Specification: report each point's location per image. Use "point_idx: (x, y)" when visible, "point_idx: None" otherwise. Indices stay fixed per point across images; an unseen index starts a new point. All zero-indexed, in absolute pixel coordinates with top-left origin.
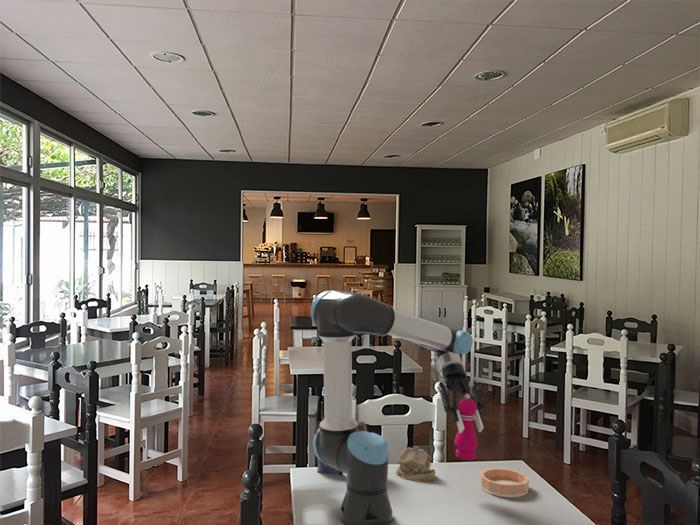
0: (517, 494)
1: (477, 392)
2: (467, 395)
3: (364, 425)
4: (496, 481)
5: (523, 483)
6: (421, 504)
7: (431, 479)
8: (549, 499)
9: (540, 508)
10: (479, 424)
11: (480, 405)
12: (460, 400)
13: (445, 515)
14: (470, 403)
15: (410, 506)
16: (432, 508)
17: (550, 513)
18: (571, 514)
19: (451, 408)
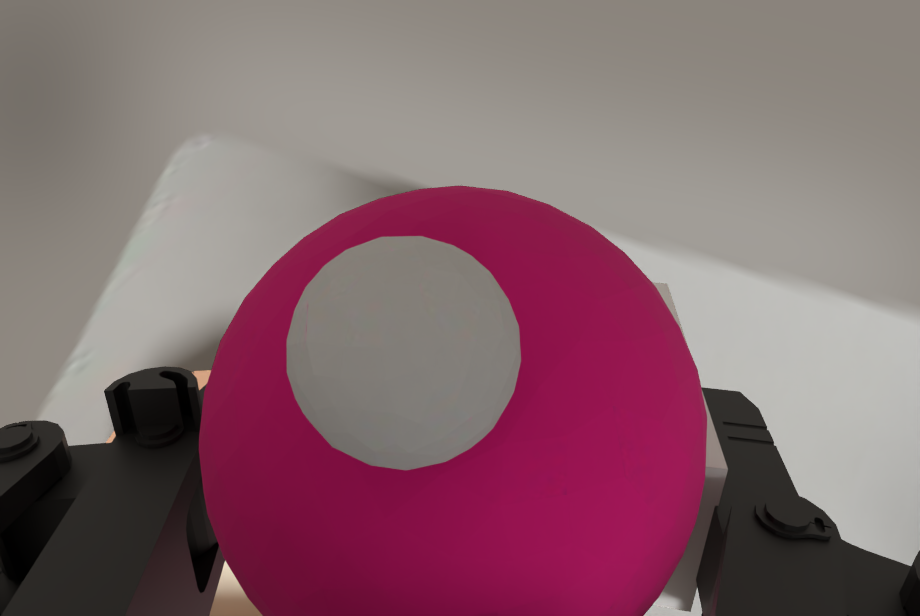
0: None
1: None
2: (450, 246)
3: None
4: (233, 586)
5: (196, 376)
6: (822, 469)
7: None
8: (148, 319)
9: (263, 252)
10: None
11: (36, 490)
12: (638, 503)
13: (740, 311)
14: (471, 190)
15: (897, 465)
16: (776, 403)
17: (264, 201)
18: (194, 173)
19: (847, 584)
